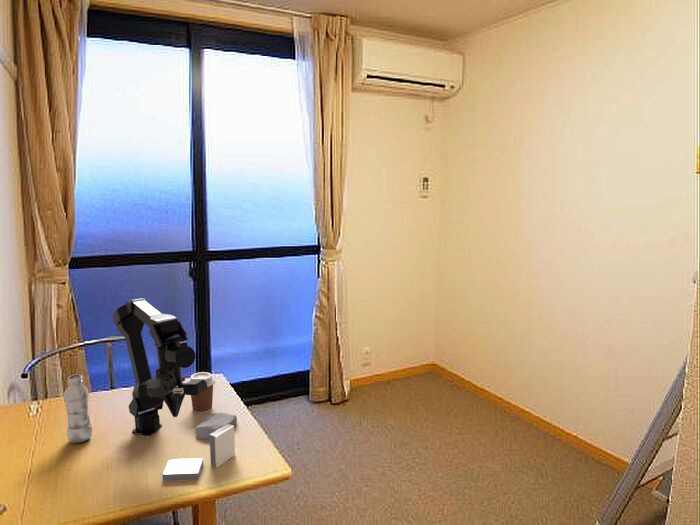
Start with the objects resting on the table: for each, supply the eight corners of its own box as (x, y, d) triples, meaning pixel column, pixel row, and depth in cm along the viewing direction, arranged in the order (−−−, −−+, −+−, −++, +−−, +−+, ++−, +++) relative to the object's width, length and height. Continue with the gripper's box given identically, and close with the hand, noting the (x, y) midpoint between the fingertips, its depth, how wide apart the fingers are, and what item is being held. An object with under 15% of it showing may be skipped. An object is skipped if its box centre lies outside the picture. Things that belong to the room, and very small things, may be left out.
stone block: (193, 443, 153) (223, 441, 150) (190, 428, 152) (220, 426, 150) (212, 426, 164) (240, 423, 162) (209, 412, 164) (237, 409, 162)
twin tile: (162, 482, 131) (162, 474, 130) (169, 467, 138) (169, 459, 137) (198, 481, 132) (197, 473, 131) (203, 466, 138) (203, 458, 138)
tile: (210, 464, 138) (209, 434, 137) (228, 452, 144) (227, 423, 143) (217, 467, 137) (216, 436, 136) (234, 455, 143) (234, 425, 142)
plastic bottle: (96, 439, 150) (91, 376, 147) (72, 448, 146) (66, 383, 142) (88, 432, 155) (83, 370, 151) (64, 440, 150) (58, 377, 146)
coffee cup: (204, 401, 177) (203, 368, 175) (221, 408, 172) (220, 375, 170) (182, 410, 170) (181, 377, 168) (200, 418, 164) (198, 383, 162)
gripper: (121, 371, 134) (128, 428, 136) (183, 370, 130) (190, 429, 131) (146, 359, 145) (153, 412, 146) (205, 358, 141) (211, 412, 142)
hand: (175, 416), depth 141 cm, fingers closed
